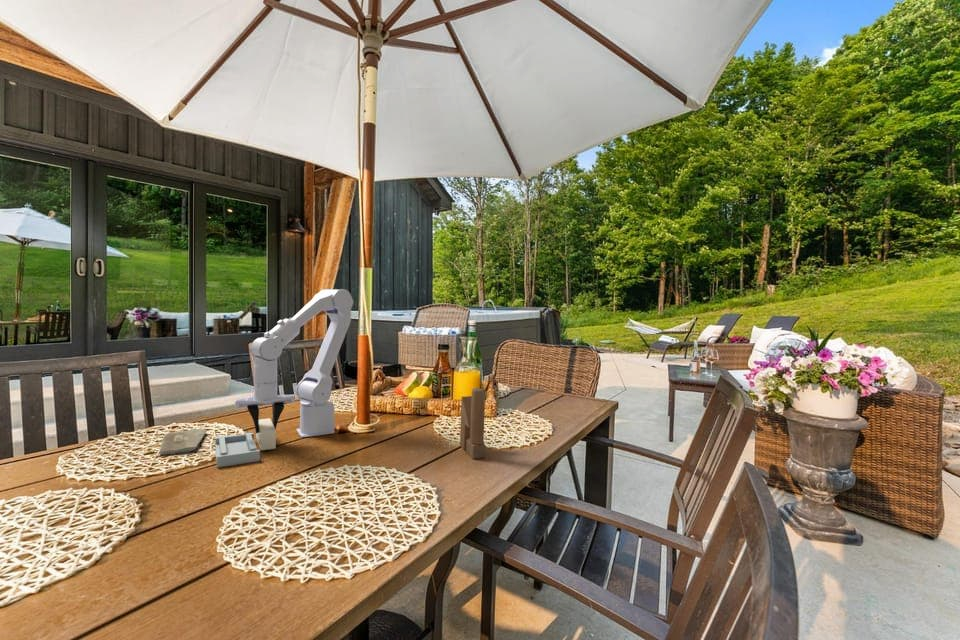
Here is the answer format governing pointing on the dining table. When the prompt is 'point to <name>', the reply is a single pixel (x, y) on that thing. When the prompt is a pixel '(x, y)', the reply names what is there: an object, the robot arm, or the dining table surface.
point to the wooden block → (473, 423)
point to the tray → (236, 449)
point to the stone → (181, 441)
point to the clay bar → (266, 434)
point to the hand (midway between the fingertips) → (265, 430)
